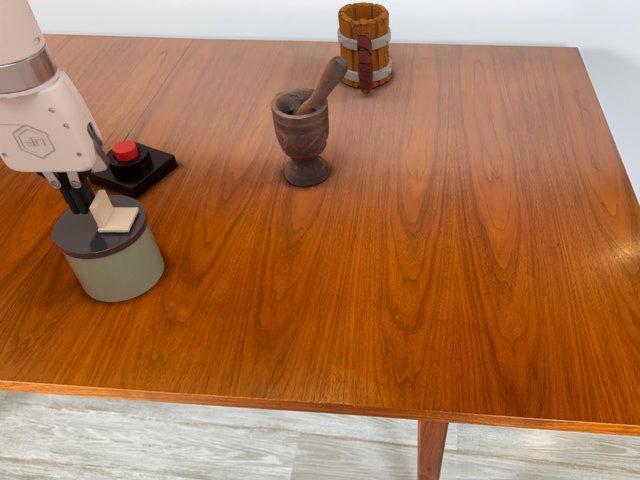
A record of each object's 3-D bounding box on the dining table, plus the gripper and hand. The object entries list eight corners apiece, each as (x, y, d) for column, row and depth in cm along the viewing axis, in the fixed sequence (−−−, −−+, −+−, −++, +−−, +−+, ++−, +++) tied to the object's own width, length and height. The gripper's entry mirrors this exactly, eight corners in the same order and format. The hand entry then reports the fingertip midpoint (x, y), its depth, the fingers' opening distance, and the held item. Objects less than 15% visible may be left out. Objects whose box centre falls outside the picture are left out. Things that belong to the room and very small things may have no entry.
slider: (98, 232, 73) (87, 210, 70) (110, 209, 76) (99, 187, 73) (128, 232, 73) (118, 210, 70) (139, 209, 76) (129, 187, 73)
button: (111, 158, 93) (107, 149, 92) (127, 147, 96) (123, 138, 94) (127, 164, 92) (124, 155, 91) (143, 152, 94) (140, 143, 93)
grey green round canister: (68, 303, 77) (37, 253, 71) (97, 244, 85) (72, 194, 78) (153, 303, 77) (130, 253, 70) (174, 244, 85) (156, 194, 78)
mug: (390, 62, 122) (390, -13, 111) (394, 103, 111) (395, 23, 100) (339, 63, 122) (334, -12, 111) (338, 104, 111) (332, 25, 100)
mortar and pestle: (342, 150, 101) (334, 36, 86) (358, 179, 95) (352, 62, 80) (277, 165, 98) (257, 49, 83) (289, 195, 92) (270, 76, 78)
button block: (90, 182, 95) (80, 161, 92) (133, 150, 101) (125, 130, 98) (136, 199, 92) (127, 179, 89) (178, 165, 98) (171, 145, 95)
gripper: (-79, 86, 57) (12, 227, 70) (73, 85, 56) (135, 227, 70) (-40, 50, 62) (38, 189, 75) (99, 49, 61) (152, 188, 75)
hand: (84, 207), depth 72 cm, fingers closed
